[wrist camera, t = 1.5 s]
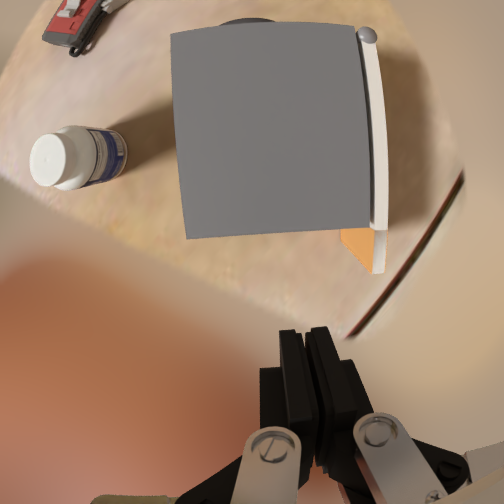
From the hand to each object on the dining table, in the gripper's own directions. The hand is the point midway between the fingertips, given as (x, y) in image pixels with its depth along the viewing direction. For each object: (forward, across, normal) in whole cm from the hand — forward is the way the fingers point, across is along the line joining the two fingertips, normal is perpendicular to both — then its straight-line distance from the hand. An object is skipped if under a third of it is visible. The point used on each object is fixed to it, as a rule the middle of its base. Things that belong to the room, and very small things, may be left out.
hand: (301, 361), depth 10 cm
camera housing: (+19, 0, -9) cm, 21 cm away
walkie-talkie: (+19, +16, -31) cm, 40 cm away
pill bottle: (+19, +16, -9) cm, 26 cm away
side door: (+18, -7, -8) cm, 21 cm away
